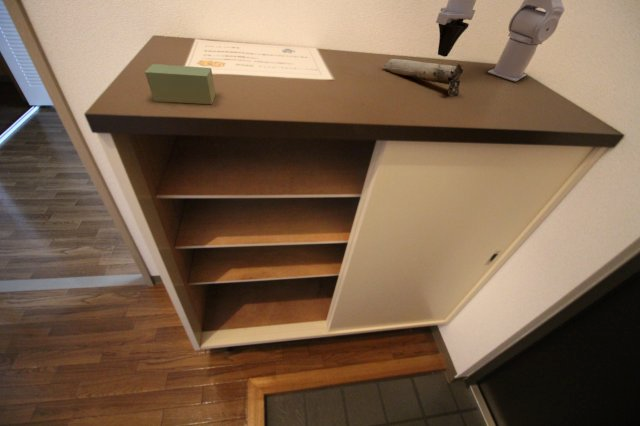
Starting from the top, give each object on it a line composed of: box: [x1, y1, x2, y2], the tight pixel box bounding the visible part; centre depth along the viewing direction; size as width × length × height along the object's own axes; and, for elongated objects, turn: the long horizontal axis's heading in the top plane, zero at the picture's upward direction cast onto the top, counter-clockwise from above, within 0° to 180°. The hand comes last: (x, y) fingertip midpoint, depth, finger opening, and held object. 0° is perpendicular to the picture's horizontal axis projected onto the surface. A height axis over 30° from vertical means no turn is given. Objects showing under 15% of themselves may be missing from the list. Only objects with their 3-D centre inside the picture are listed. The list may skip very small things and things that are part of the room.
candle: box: [382, 58, 464, 97], centre depth 69 cm, size 6×20×6 cm, turn 38°
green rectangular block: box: [144, 63, 216, 105], centre depth 51 cm, size 4×10×5 cm, turn 95°
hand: (442, 55), depth 71 cm, fingers closed
